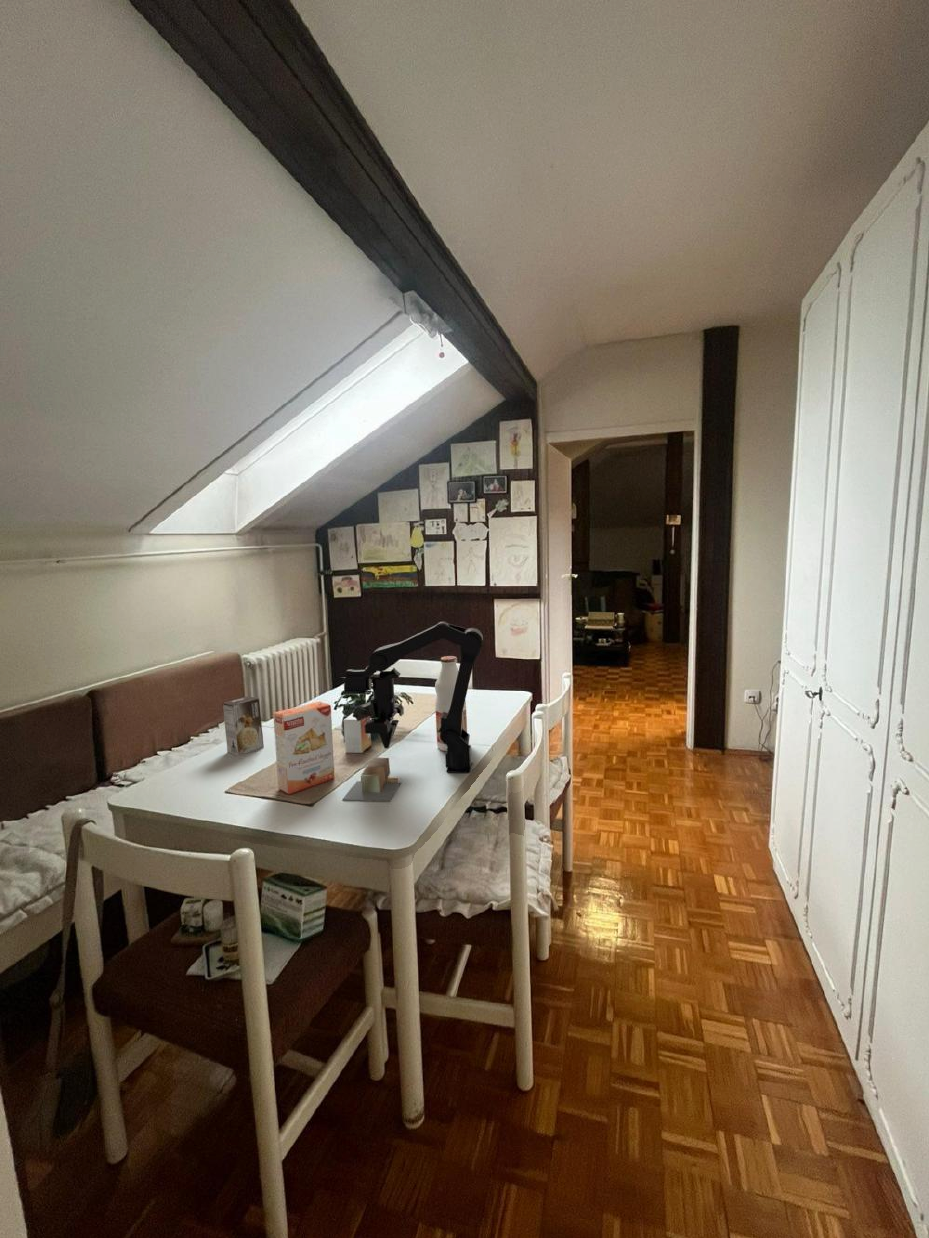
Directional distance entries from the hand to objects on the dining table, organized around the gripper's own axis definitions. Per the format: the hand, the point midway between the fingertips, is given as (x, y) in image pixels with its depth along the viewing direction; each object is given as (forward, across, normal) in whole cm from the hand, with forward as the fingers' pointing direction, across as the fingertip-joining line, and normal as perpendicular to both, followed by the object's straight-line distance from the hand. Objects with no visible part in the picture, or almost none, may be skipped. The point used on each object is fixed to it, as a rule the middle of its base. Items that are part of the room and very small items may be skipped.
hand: (386, 748), depth 162 cm
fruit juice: (+6, -19, +15) cm, 25 cm away
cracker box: (+6, +11, -19) cm, 23 cm away
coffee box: (+6, -14, -50) cm, 52 cm away
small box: (+6, -16, -14) cm, 22 cm away
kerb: (+6, +8, 0) cm, 10 cm away
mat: (+6, +14, 0) cm, 16 cm away
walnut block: (+3, +6, 0) cm, 6 cm away
